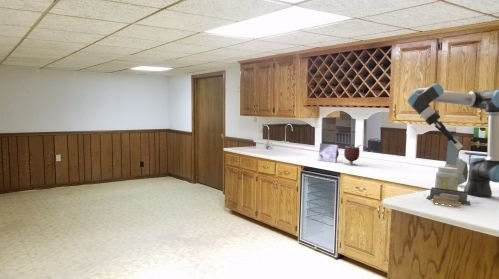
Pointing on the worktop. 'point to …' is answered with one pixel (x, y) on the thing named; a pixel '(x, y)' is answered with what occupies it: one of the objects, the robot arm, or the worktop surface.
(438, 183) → the supplement tub
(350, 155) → the mate gourd
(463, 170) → the rock
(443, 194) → the offcut stack
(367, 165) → the worktop surface
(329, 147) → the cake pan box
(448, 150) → the slate board
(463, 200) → the slot rack
